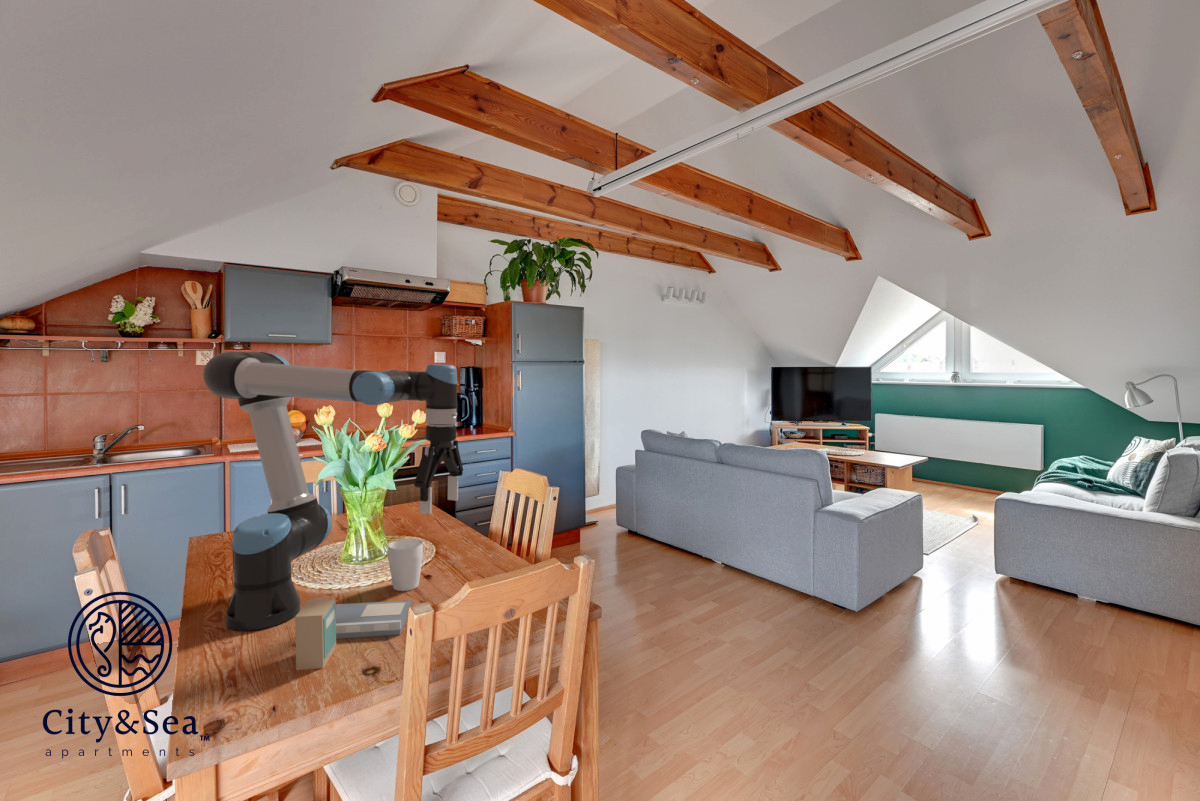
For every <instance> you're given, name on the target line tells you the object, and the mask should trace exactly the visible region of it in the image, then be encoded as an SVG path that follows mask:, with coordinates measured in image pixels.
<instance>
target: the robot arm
mask: <svg viewBox="0 0 1200 801" xmlns="http://www.w3.org/2000/svg"><path fill="white" fill-rule="evenodd" d="M457 370H458V369H457V367H456V366H455V365H453V364H438V363H435V364H431V363H430V364H427V365H426V369H425V370H424V371H416V370H415V371H414V370H413V371H412V370H400V369H399V370H398V369H390V370H389V369H388V370H383V371H382V370H381V371H378V370H367V369H366V370H364V369H352V368H351V369H348V368H335V367H322V366H309V365H308V366H307V365H295V364H291V363H289V361H288V360H287V359H285V358H284V357H282V356H281V355H279V354H276V353H269V352H266V351H258V352H256V351H255V352H254V351H250V352H249V351H248V352H247V351H226V352H222V353H221V352H220V353H218V354H216V355H214V356H213V357H212V358H210V359H209V360H208V362H207V361H206V364H205V366H204V368H203V372H202V373H203V374H202V376H203V380H204V381H203V382H204V384H205V386H206V387H207V389H208V390H209V391H211V393H212V394H214V395H216V396H218V397H220V398H222V399H229V400H237V402H238V404H239V408H240V409H241V410H242V411H244V412H246V413H248V416H249V419H250V423H251V427H252V431H253V434H254V438H255V443H256V447H257V451H258V454H259V457H260V462H261V465H262V469H263V472H264V477H265V480H266V484H267V488H268V493H269V496H270V499H271V504H270V505H269V506H268V508H267V510H266V512H267V513H265V514H261V515H259V516H253V517H250V518H247V519H245V520H243V521H242V522H240V523H238V525H237V526H236V527H235V528H234V530H233V532H232V541H231V548H232V561H233V562H232V563H233V564H232V565H233V585H234V586H233V587H234V588H233V592H232V595H231V599H230V601H229V604H228V607H227V610H226V614H225V625H226V626H227V628H229V629H231V630H235V631H241V632H242V631H246V632H247V631H257V630H262V629H268V628H271V627H275V626H277V625H280V624H284V623H285V622H287V621H289V620H291V619H293V618H295V616H296V615H297V614H298V613H299V612H300V611H301V599H300V596H299V594H298V591H297V588H296V586H295V584H294V582H293V578H292V561H294V560H295V559H298V558H299V557H301V556H303V555H304V554H306V553H308V552H310V551H313V550H314V549H316V548H317V547H319V546H320V544H322V543H323V542H325V541H326V540H327V539H328V536H329V535H330V534H331V531H332V526H333V519H332V516H331V514H330V512H329V510H328V509H327V508H325V507H324V505H322V504H320V503H319V501H318V498H317V496H316V495H314V494H312V493H310V491H309V489H308V485H307V481H306V476H305V473H304V470H303V466H302V465H303V464H302V462H301V457H300V453H299V450H298V445H297V442H296V439H295V435H294V434H295V433H294V429H293V426H292V423H291V418H290V414H289V411H288V407H287V406H288V404H289V402H290V401H291V399H292V398H299V399H300V398H301V399H313V400H314V399H315V400H325V401H326V400H328V401H341V402H356V403H362V404H364V405H367V406H379V405H380V406H381V405H383V404H388V403H394V402H401V401H415V402H416V401H420V402H424V401H425V404H426V405H425V424H427V425H426V427H425V440H426V441H428V442H430V444H429V446H423V447H422V448H421V449H422V450H421V457H420V461H419V466H418V468H417V472H416V477H415V481H414V485H413V486H414V487H415V488H419V493H420V495H419V502H420V503H419V514H422V515H432V511H433V505H432V504H433V487H431V485H432V482H433V480H434V477H435V474H436V472H437V469H438V467H439V466H440V465H441V464H442V462H443V463H444V465H445V467H446V469H447V472H448V473H449V475H447V501H458V500H459V477H462V476H463V471H464V467H463V462H462V459H461V453H460V450H459V441H458V440H457V426H456V425H455V424H456V423H457V416H458V413H457V408H458V407H457V402H458V401H457V399H458V385H459V384H458V382H459V381H458V372H457Z"/></svg>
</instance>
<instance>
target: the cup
mask: <svg viewBox="0 0 1200 801" xmlns="http://www.w3.org/2000/svg"><path fill="white" fill-rule="evenodd" d="M423 548H424V546H423V541H422V540H420V539H417V538H402V539H397V540H394V541H391V542H390V543H389V544H388V551H387V553H388V554H387V558H388V564H389V572H390V577H391V583H392V589H393V590H395V591H397V592H408V591H412V590H414V589H416V588H418V587H419V585H420V578H421V570H422V564H423V556H424V549H423Z"/></svg>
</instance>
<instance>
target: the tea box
mask: <svg viewBox="0 0 1200 801" xmlns="http://www.w3.org/2000/svg"><path fill="white" fill-rule="evenodd" d="M336 603H337V602H336V597H321V598H310V599H308V601H307V603H306V604H305V605H304V606H303V607H302V608H300V611H299V613H298V614H297V615H295V616H294V623H295V624H294V625H295V627H294V628H295V632H294V633H295V669H296V670H295V671H301V670H302V671H303V670H315V669H324V667H325V666H326V664H327V662H328V661H329V659H330V658H331V656H332V654H333V653H334V652H335V650H336V648H337V639H336Z"/></svg>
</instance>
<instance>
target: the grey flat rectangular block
mask: <svg viewBox="0 0 1200 801" xmlns="http://www.w3.org/2000/svg"><path fill="white" fill-rule="evenodd" d="M412 602H413V599H412V600H393V601H375V602H374V601H373V602H372V601H370V602H353V603H337V604H336V640H340V639H351V638H352V639H353V638H355V639H356V638H369V637H385V636H386V637H388V636H399V635H398V634H400V635H401V633H402V631H403V629H404V628H405V624H406V622H407V620H408V617H407V612H408V608H409V607H410V606H411V605H412V604H414V603H412ZM412 606H413V605H412ZM406 619H407V620H406Z"/></svg>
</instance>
